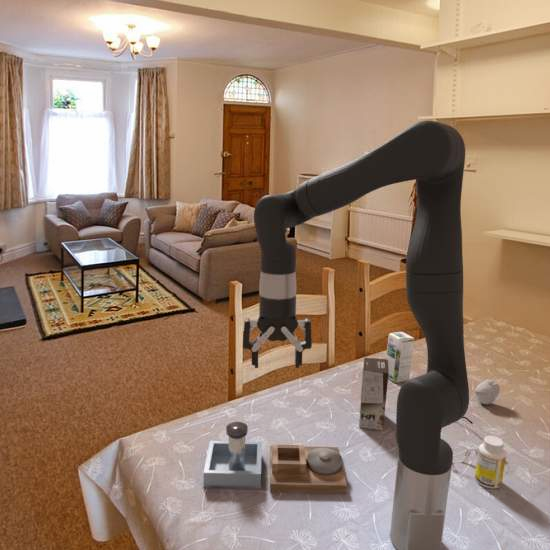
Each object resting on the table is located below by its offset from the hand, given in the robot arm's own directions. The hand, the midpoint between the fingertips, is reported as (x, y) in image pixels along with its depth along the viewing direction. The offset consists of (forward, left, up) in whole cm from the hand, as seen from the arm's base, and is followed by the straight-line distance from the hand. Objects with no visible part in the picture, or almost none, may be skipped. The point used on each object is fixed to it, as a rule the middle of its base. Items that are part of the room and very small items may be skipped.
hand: (276, 366), depth 110 cm
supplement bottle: (-2, -47, -25) cm, 54 cm away
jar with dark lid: (0, +8, -24) cm, 26 cm away
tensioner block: (0, -7, -25) cm, 26 cm away
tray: (0, +9, -25) cm, 27 cm away
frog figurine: (+34, -61, -25) cm, 74 cm away
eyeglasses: (+13, -44, -26) cm, 53 cm away
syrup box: (+49, -39, -25) cm, 67 cm away
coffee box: (+23, -26, -25) cm, 43 cm away
